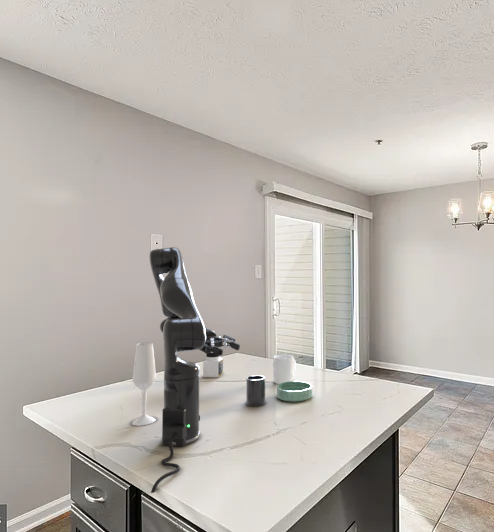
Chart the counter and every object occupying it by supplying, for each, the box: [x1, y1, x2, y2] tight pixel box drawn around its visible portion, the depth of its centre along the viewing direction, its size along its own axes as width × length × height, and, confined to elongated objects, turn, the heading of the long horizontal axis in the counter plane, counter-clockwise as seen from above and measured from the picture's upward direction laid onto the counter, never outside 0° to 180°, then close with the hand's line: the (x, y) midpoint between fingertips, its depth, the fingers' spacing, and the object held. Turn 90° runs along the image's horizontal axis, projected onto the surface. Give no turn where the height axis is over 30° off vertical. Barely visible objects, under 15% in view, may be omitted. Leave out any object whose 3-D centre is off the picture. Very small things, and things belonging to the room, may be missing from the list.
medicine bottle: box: [202, 352, 224, 378], centre depth 171 cm, size 7×7×12 cm
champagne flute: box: [131, 341, 157, 427], centre depth 117 cm, size 7×7×24 cm
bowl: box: [276, 380, 313, 403], centre depth 141 cm, size 13×13×4 cm
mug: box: [272, 353, 297, 385], centre depth 162 cm, size 9×12×11 cm
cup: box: [245, 374, 266, 407], centre depth 134 cm, size 6×6×9 cm
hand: (230, 350), depth 138 cm, fingers open, 8 cm apart
